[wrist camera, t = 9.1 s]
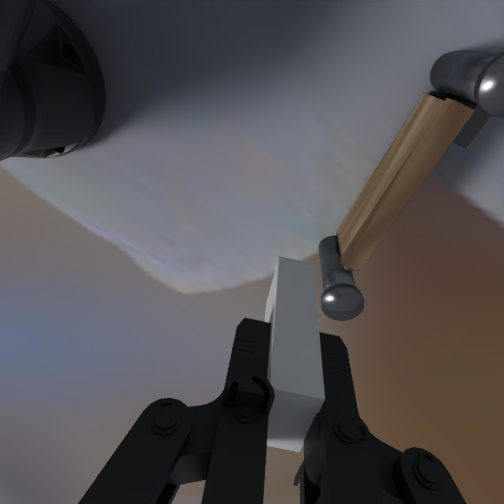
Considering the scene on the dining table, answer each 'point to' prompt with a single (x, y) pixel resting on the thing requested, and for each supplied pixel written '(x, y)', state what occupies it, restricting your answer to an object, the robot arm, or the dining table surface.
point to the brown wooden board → (399, 176)
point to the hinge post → (338, 284)
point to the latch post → (472, 87)
